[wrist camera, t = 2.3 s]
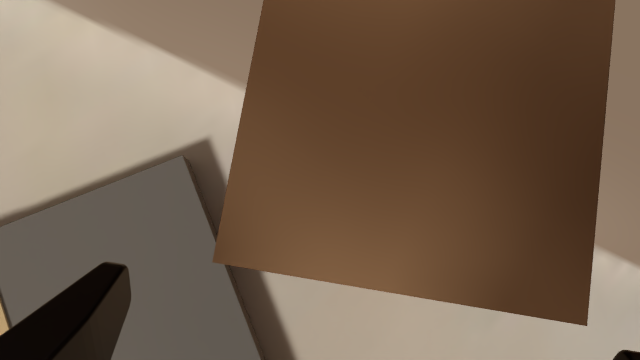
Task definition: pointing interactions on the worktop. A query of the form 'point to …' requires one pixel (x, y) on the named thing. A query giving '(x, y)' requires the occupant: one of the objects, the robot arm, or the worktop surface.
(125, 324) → the baseplate
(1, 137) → the worktop surface
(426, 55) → the walnut post
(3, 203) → the worktop surface
